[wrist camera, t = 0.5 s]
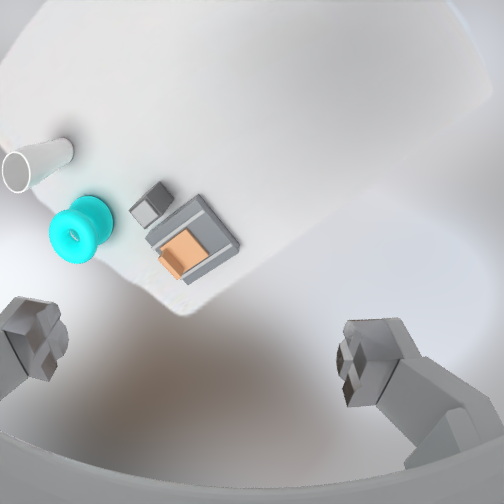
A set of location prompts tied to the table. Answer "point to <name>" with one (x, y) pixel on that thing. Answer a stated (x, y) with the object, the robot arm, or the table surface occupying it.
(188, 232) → the block
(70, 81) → the table surface
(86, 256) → the donuts
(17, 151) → the drinking glass
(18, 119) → the table surface
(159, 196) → the plug
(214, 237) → the socket plate
